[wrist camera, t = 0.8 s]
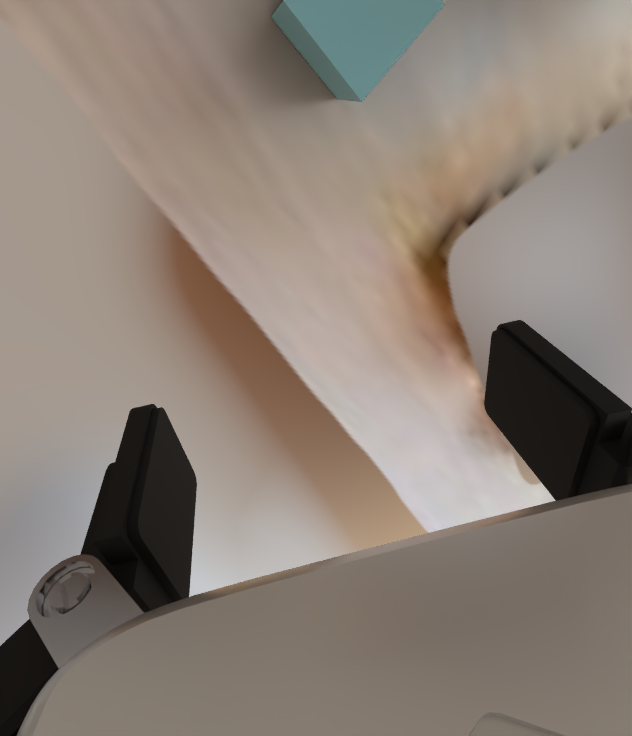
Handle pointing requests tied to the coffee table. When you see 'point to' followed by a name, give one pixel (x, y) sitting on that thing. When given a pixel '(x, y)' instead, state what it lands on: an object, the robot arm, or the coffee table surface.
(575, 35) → the coffee table surface
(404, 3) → the letter cube
